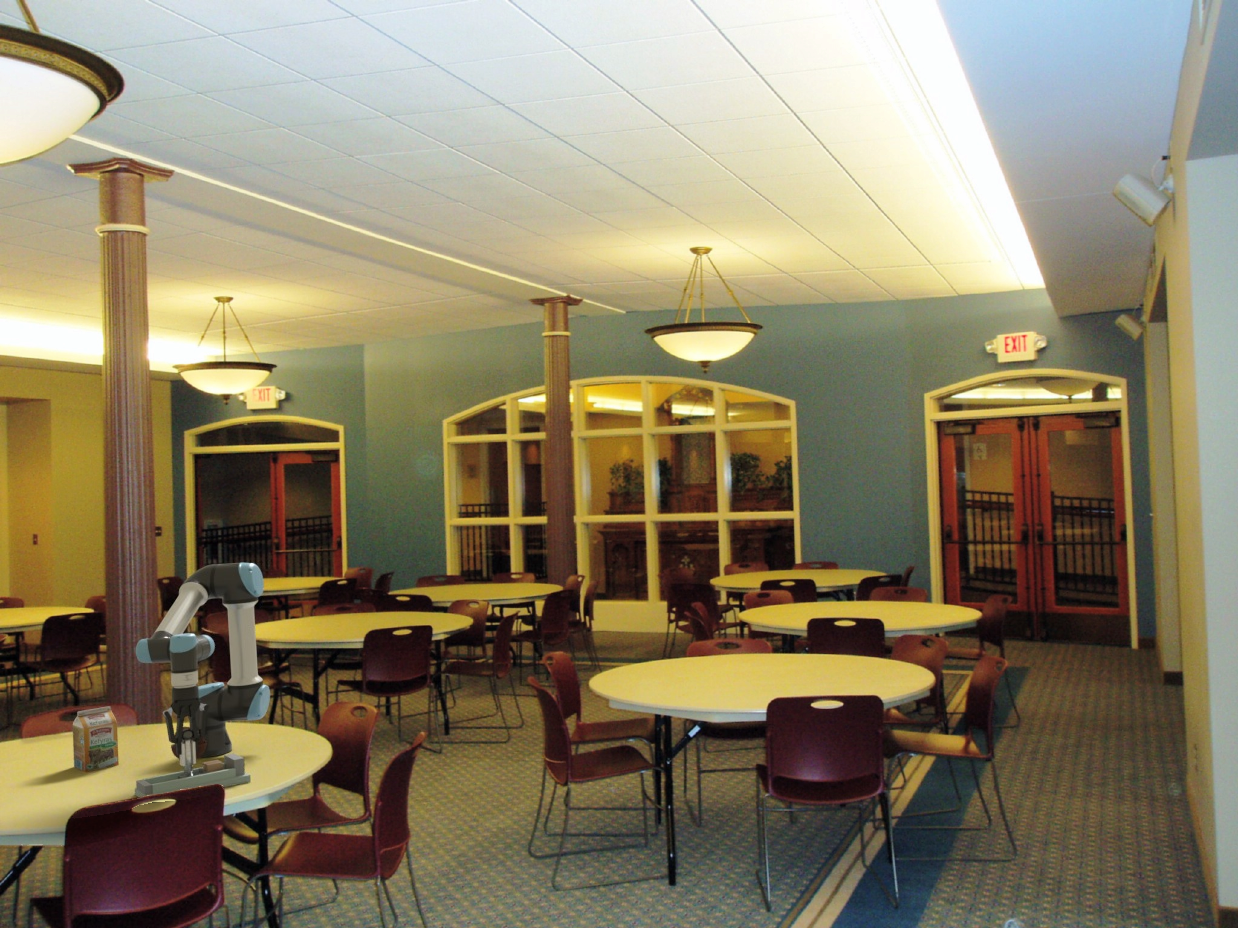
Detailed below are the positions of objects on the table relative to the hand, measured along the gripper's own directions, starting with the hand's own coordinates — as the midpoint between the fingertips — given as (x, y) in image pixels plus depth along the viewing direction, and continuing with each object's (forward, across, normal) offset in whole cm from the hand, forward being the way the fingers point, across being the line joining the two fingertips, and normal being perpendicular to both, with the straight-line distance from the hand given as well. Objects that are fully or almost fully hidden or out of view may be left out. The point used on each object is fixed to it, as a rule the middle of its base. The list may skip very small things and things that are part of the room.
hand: (188, 763), depth 325 cm
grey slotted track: (+8, +1, 0) cm, 8 cm away
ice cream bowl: (+8, +6, +19) cm, 21 cm away
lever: (+5, +1, 0) cm, 6 cm away
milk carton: (+8, -13, +56) cm, 58 cm away
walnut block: (+6, +7, 0) cm, 9 cm away
